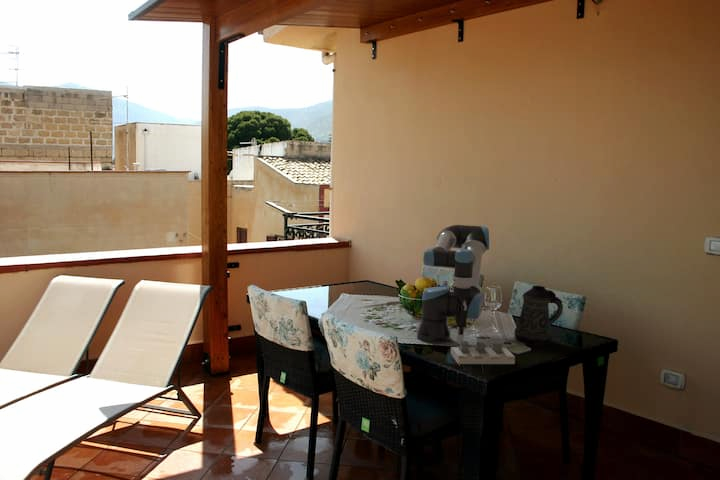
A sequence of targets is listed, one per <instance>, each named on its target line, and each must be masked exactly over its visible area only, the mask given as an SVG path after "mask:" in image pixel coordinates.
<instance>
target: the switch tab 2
mask: <svg viewBox="0 0 720 480" xmlns="http://www.w3.org/2000/svg"><path fill="white" fill-rule="evenodd" d="M475 347H476V350H477V351H478V352H479V353H485V347H486V342H485V341H483V340H482V341H477V340H476V346H475Z"/></svg>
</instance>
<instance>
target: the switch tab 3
mask: <svg viewBox="0 0 720 480" xmlns="http://www.w3.org/2000/svg"><path fill="white" fill-rule="evenodd" d="M492 343H493V346H492V347H493V350H494V351H495V352H496V353H502V351H501V350H502V343H501V342H498V341H492Z"/></svg>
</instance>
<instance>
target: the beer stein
mask: <svg viewBox="0 0 720 480" xmlns="http://www.w3.org/2000/svg"><path fill="white" fill-rule="evenodd" d="M522 300H523V302H522V307H521V312H520V315H519V318H518V322H517V325H516V326H515V329H514V339H515V341H516V342H519V343H522V344H525V345H530V346H546V345H549V344H550V343H551V341H552V336H553V335H552V332H551V327H550V326H552V324H554V323H555V322H556V321H557V320H558V319H559V318H560V317H561V315H562V314H563V309H564V305H563V301H562V299H560V298H559V297H558V296H556V293H555V292H554V291H553V290H549V289H546V287H545V286H543V285H533V286H532V287H531V288H530V289H528V290H527V291H525V292H524V293H523V294H522ZM549 304H555V305H556V306H557V310H556V311H555V312H554V314H553V315H552V316H550V309H549Z"/></svg>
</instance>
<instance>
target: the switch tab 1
mask: <svg viewBox="0 0 720 480" xmlns="http://www.w3.org/2000/svg"><path fill="white" fill-rule="evenodd" d="M459 347H460V348H459V350H460V351H461V352H462V353H469V351H468V347H469V341H467V340H466V341H464V340H463V341H460V342H459Z"/></svg>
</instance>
